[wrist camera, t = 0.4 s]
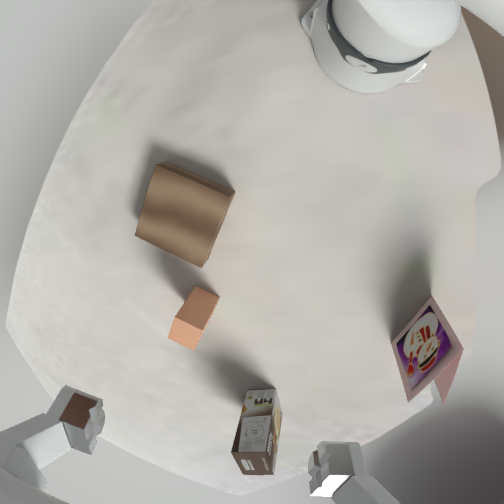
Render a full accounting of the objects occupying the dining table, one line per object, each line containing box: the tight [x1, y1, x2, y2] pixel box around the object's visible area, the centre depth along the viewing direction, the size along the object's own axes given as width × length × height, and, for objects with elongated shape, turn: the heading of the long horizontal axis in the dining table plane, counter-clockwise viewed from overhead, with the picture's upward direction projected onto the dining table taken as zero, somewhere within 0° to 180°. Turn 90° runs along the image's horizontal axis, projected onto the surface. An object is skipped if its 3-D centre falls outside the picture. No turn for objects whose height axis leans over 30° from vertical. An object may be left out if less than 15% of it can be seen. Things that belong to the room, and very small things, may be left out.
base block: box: [135, 162, 235, 268], centre depth 48 cm, size 12×12×4 cm
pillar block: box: [168, 286, 220, 351], centre depth 51 cm, size 4×4×10 cm
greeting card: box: [391, 296, 463, 405], centre depth 43 cm, size 11×7×15 cm, turn 152°
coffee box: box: [231, 389, 282, 475], centre depth 55 cm, size 9×6×16 cm
